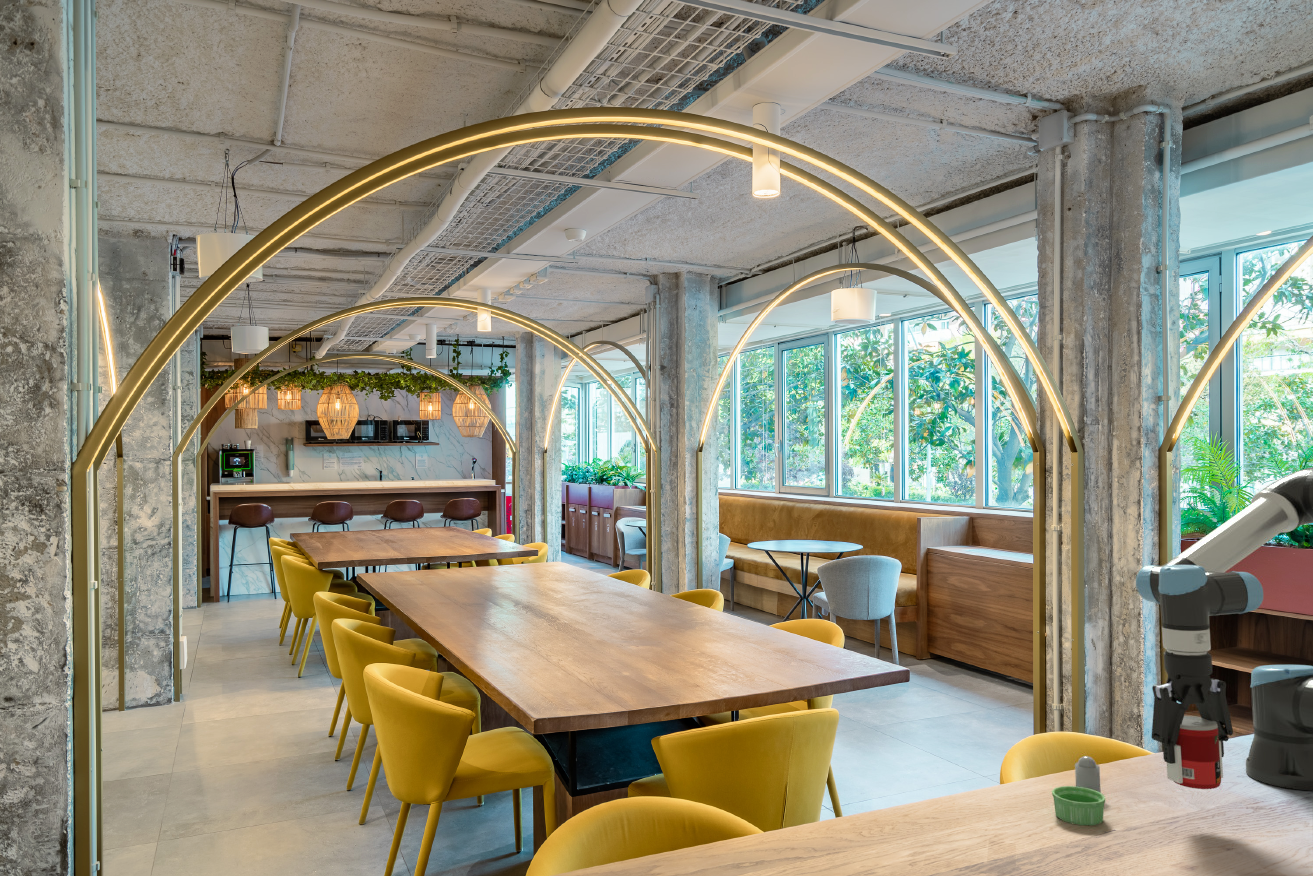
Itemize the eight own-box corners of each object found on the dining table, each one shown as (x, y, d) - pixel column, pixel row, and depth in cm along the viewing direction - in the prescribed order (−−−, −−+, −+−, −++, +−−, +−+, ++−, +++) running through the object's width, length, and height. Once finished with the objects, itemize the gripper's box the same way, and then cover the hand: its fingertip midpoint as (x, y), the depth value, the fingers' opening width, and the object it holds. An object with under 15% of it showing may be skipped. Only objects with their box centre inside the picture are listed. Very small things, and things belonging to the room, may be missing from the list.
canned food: (1229, 790, 156) (1224, 727, 156) (1179, 789, 157) (1175, 726, 158) (1211, 775, 163) (1207, 715, 164) (1163, 774, 165) (1160, 714, 165)
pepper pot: (1090, 791, 178) (1088, 752, 179) (1105, 799, 174) (1104, 758, 175) (1071, 793, 178) (1069, 754, 178) (1086, 801, 173) (1084, 760, 174)
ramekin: (1051, 822, 163) (1050, 798, 163) (1054, 806, 171) (1053, 783, 171) (1105, 830, 159) (1104, 805, 159) (1106, 813, 167) (1105, 789, 167)
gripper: (1153, 659, 156) (1162, 791, 155) (1252, 650, 160) (1261, 778, 159) (1122, 651, 163) (1130, 777, 162) (1217, 642, 167) (1226, 765, 166)
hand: (1195, 778), depth 160 cm, fingers closed on canned food, 8 cm apart
